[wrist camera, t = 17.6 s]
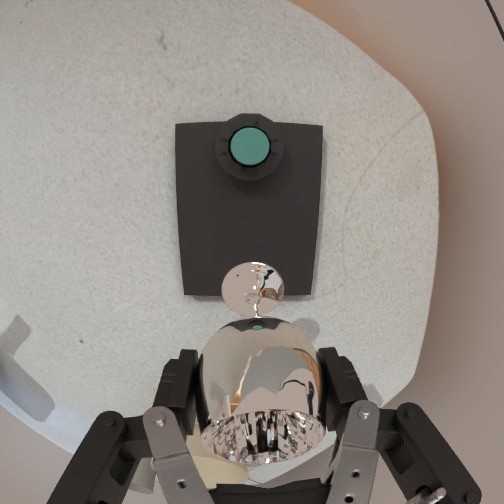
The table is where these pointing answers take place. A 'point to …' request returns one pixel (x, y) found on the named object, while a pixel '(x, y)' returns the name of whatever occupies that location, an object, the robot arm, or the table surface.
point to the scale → (247, 202)
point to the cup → (143, 477)
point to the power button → (250, 146)
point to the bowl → (213, 464)
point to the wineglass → (259, 378)
